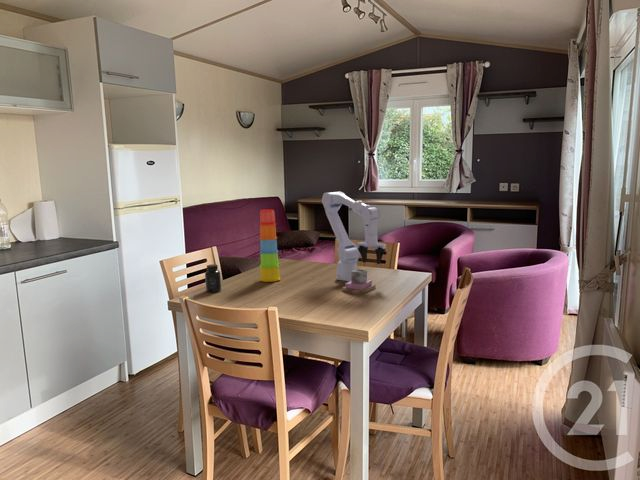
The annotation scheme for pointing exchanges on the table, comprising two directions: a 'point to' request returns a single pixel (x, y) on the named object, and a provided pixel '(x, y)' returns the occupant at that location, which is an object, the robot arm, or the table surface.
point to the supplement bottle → (213, 279)
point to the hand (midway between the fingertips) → (371, 262)
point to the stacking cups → (268, 247)
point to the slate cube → (359, 276)
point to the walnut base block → (359, 290)
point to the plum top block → (358, 285)
